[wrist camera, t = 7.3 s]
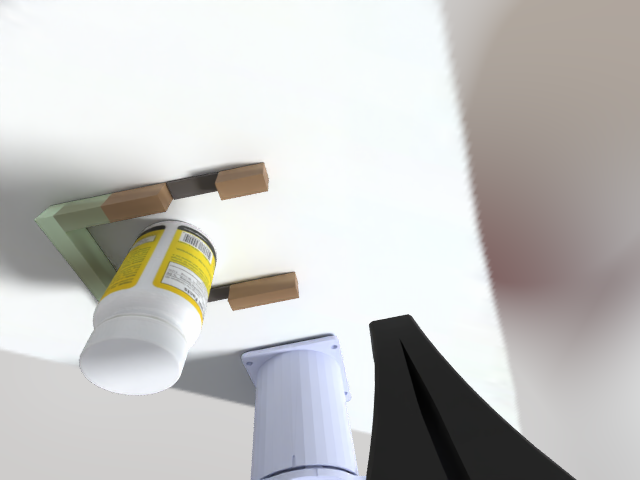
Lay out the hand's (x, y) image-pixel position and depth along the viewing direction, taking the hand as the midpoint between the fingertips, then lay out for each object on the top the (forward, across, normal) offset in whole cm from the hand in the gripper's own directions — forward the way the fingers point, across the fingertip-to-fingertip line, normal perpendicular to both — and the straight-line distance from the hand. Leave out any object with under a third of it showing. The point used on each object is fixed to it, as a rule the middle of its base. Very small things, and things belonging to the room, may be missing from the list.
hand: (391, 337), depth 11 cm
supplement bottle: (+11, +11, +2) cm, 15 cm away
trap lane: (+10, +10, +2) cm, 14 cm away
